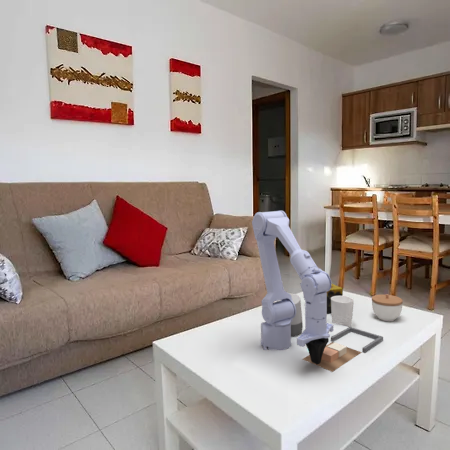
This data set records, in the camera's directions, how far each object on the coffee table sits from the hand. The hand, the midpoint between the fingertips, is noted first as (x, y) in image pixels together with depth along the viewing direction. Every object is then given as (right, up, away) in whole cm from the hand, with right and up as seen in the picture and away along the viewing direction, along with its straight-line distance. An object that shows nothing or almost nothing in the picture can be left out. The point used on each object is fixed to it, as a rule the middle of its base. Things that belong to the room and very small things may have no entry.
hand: (315, 362), depth 101 cm
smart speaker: (-3, 0, +24) cm, 24 cm away
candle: (+16, +3, +48) cm, 51 cm away
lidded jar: (+36, +3, +37) cm, 52 cm away
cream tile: (+8, 0, +7) cm, 11 cm away
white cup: (+17, +1, +31) cm, 36 cm away
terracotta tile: (+5, 0, +4) cm, 6 cm away
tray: (+17, 0, +15) cm, 22 cm away
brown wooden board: (+6, -2, +6) cm, 9 cm away
